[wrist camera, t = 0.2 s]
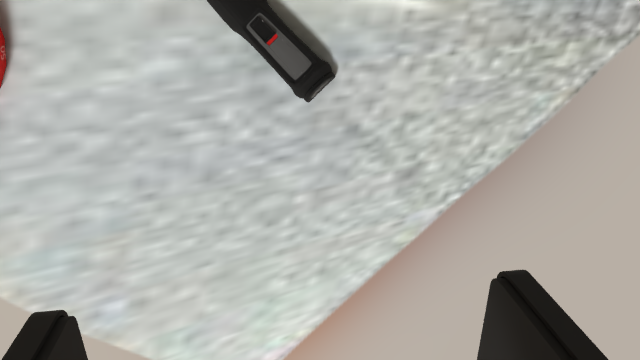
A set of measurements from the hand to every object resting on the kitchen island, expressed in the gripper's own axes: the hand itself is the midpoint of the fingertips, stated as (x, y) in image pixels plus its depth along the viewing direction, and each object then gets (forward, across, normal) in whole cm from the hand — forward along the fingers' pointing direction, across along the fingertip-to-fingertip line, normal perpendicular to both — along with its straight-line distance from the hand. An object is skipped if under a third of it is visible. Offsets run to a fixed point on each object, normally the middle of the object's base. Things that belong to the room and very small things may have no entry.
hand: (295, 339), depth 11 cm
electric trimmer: (+32, 0, -4) cm, 32 cm away
